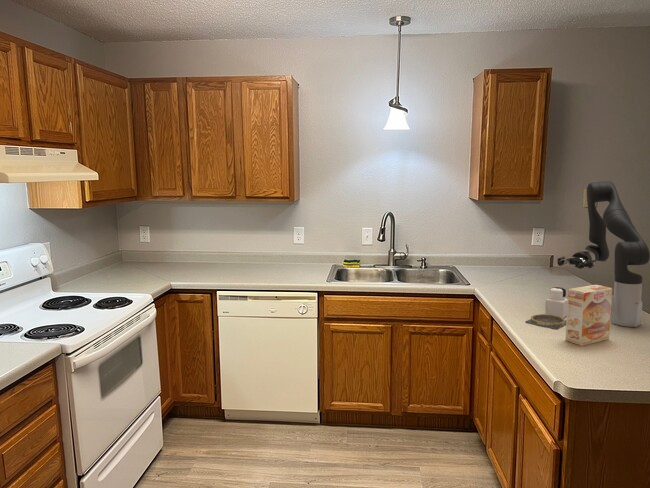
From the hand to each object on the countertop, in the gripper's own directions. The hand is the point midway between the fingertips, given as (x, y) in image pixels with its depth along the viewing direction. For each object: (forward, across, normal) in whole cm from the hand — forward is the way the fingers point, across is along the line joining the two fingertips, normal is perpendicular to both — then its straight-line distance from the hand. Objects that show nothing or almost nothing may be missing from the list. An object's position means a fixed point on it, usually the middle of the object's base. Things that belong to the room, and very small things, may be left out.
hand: (569, 265), depth 207 cm
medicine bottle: (+11, 0, +20) cm, 23 cm away
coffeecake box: (+35, +20, +19) cm, 45 cm away
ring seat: (+24, +2, +20) cm, 31 cm away
